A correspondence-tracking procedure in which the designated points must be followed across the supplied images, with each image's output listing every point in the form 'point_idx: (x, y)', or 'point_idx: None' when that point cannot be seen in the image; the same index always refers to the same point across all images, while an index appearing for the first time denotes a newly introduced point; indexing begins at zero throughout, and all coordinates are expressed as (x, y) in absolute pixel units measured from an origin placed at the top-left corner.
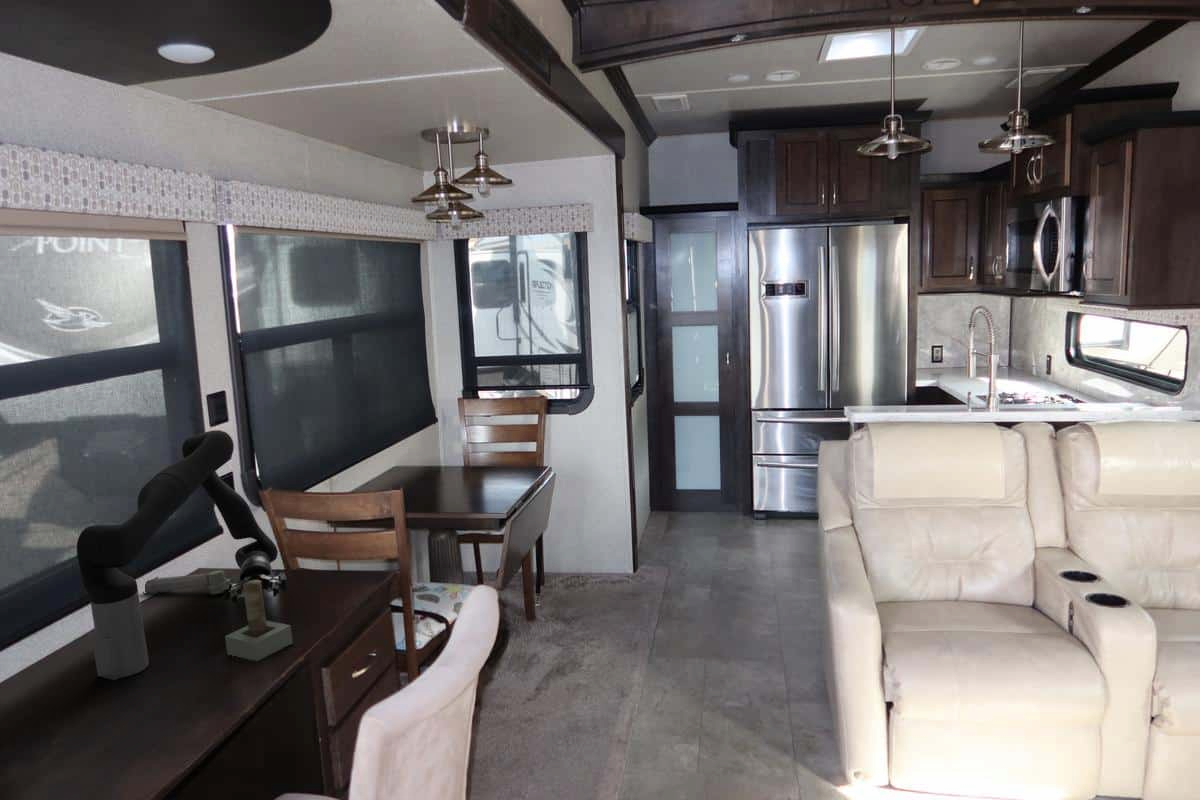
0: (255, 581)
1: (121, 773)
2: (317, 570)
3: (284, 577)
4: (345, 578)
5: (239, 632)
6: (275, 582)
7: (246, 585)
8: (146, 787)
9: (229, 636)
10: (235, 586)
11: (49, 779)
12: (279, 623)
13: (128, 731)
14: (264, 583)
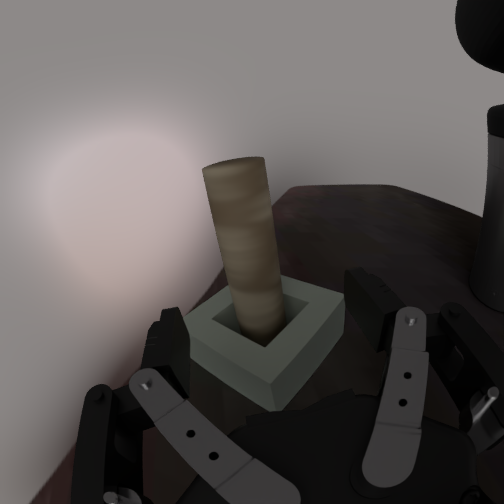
0: (220, 167)
1: (325, 190)
2: None
3: (86, 426)
4: None
5: (313, 309)
6: (149, 369)
7: (249, 158)
8: (298, 186)
9: (332, 293)
10: (466, 431)
11: (374, 187)
12: (202, 339)
13: (360, 209)
14: (231, 432)
